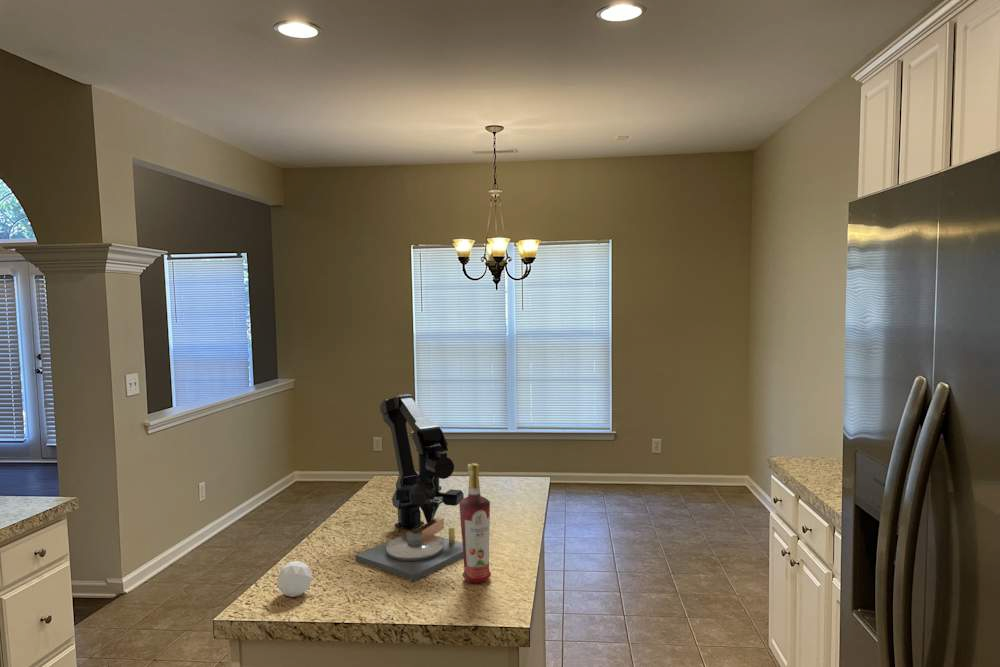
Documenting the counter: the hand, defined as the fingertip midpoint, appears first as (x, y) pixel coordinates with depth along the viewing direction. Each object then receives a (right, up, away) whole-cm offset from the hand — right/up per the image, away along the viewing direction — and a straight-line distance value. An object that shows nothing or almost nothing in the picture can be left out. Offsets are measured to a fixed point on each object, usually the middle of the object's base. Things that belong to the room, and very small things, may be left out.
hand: (429, 525), depth 181 cm
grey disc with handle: (-2, -3, -8) cm, 9 cm away
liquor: (+14, -6, -26) cm, 30 cm away
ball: (-28, -7, -31) cm, 42 cm away
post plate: (-3, -5, -10) cm, 12 cm away
